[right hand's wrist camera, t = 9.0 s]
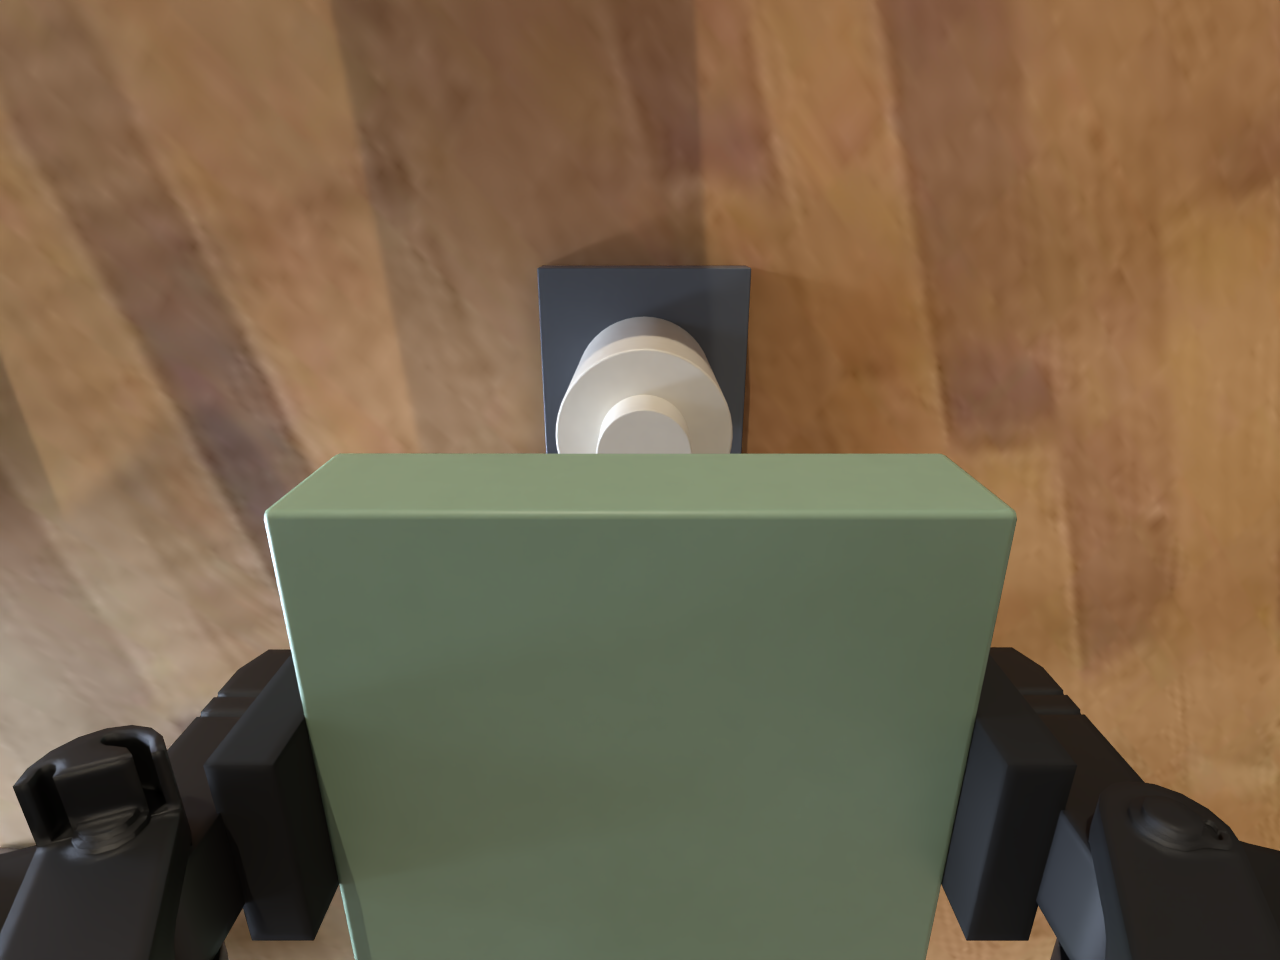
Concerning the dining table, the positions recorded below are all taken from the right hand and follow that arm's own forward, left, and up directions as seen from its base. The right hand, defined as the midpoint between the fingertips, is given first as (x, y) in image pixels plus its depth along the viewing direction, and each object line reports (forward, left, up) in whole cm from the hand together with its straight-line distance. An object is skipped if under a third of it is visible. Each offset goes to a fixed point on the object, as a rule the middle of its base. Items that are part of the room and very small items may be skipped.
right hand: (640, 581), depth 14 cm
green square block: (0, 0, +2) cm, 2 cm away
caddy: (0, -8, -20) cm, 21 cm away
